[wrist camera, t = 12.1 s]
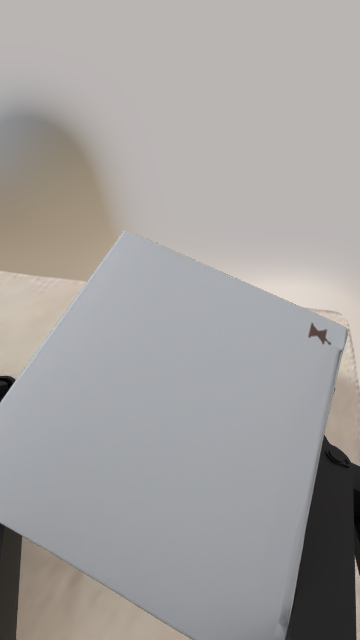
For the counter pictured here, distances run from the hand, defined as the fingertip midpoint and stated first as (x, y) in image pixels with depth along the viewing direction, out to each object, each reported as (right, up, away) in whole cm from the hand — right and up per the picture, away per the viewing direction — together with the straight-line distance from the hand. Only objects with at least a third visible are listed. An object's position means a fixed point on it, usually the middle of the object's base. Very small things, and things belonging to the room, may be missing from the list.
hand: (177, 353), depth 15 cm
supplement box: (-1, -5, +7) cm, 8 cm away
